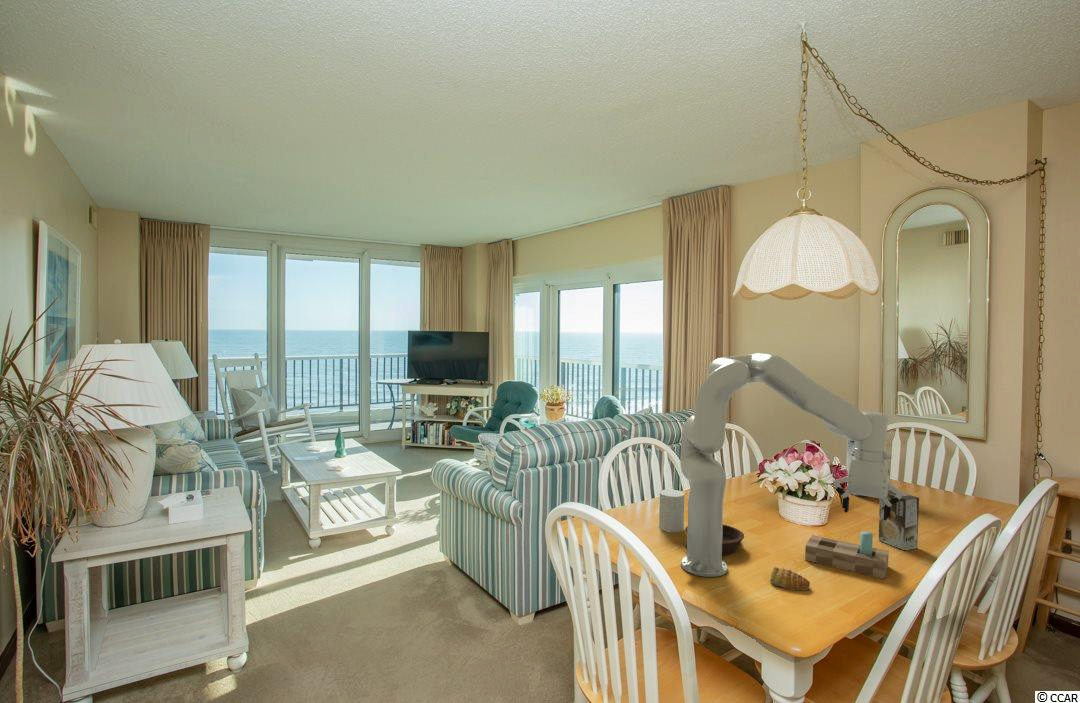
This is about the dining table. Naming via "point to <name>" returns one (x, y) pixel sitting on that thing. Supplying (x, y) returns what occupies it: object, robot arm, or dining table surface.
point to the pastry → (789, 579)
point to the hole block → (846, 556)
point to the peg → (866, 543)
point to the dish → (728, 539)
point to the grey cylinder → (671, 510)
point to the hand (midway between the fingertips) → (865, 515)
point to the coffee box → (900, 522)
